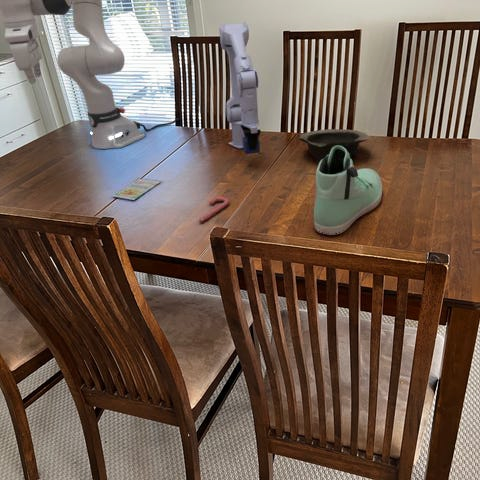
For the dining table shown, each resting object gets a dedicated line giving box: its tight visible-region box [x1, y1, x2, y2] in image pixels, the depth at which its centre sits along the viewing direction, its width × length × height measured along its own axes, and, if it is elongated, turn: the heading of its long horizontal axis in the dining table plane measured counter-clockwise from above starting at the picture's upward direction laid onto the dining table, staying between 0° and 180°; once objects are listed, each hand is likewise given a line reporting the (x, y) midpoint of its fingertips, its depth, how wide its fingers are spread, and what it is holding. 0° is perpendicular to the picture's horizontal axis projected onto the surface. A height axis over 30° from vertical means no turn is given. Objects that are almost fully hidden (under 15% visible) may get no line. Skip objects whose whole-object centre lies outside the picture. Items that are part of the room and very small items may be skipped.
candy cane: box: [198, 196, 230, 223], centre depth 143 cm, size 6×15×2 cm, turn 145°
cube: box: [242, 137, 261, 155], centre depth 168 cm, size 5×5×5 cm
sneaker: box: [313, 146, 383, 236], centre depth 133 cm, size 14×35×20 cm, turn 152°
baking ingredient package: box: [112, 178, 161, 201], centre depth 160 cm, size 9×1×15 cm
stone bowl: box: [298, 128, 371, 163], centre depth 172 cm, size 25×25×9 cm
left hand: (35, 79), depth 148 cm, fingers open, 8 cm apart
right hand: (251, 146), depth 168 cm, fingers closed on cube, 5 cm apart
